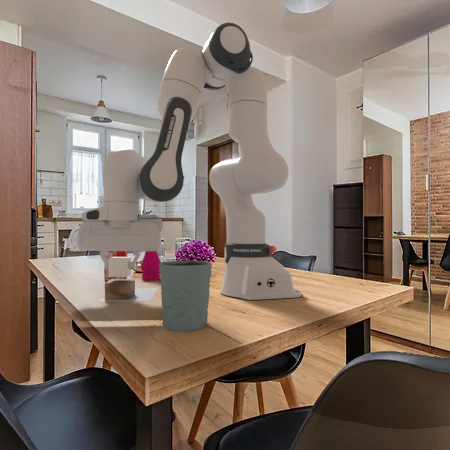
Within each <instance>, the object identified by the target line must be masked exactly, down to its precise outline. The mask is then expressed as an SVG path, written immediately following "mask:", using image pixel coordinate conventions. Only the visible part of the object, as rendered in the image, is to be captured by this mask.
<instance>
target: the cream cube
mask: <svg viewBox="0 0 450 450" xmlns="http://www.w3.org/2000/svg"><path fill="white" fill-rule="evenodd" d="M129 262H132V256H127V257H112V258H109V273H108V277H127V278H129V276H131V275H132V269H129Z"/></svg>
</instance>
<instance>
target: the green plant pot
mask: <svg viewBox="0 0 450 450" xmlns="http://www.w3.org/2000/svg"><path fill="white" fill-rule="evenodd" d="M159 266H160V271H159V274H160V279H159V280H160V289H161V291H160V295H161V311H162V316H161V317H162V325H163V327H164V329H166V330H169V331H174V332H194V331H198V330H201V329H204V328H205V327H206V326H207V323H208V317H209V315H208V314H209V312H208V309H209V303H210V302H209V301H210V287H211V286H210V284H211V276H212V268H213V267H212V266H213V263H212V262H210V261H205V260H204V261H202V260H167V261H161V263H160V264H159Z"/></svg>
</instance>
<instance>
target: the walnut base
mask: <svg viewBox="0 0 450 450" xmlns="http://www.w3.org/2000/svg"><path fill="white" fill-rule="evenodd" d="M135 288H136V278H127V279H111V280H109V281H108V282H106V283H105V282H104V297H105V300H127V299H131V298H132V297H133V296H134V295H135Z"/></svg>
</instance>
